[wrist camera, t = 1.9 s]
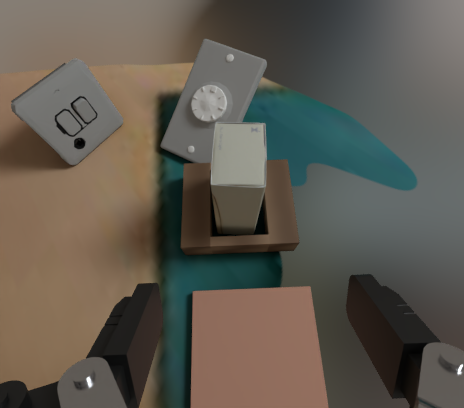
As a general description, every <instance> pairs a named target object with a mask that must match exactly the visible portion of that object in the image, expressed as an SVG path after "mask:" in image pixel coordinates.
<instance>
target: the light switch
mask: <svg viewBox="0 0 464 408" xmlns="http://www.w3.org/2000/svg"><path fill="white" fill-rule="evenodd" d="M266 66H267V63H266V60H265V59H262V58H259V57H256V56H253V55H250V54H248V53H245V52H242V51H239V50H236V49H233V48H231V47H228V46H225V45H222V44H219V43H216V42H213V41H211V40H208V39H204V41H203V43H202V45H201V48H200V50H199V53H198V55H197V57H196V60H195V62H194V65H193V67H192V70H191V72H190V74H189V77H188V79H187V82H186V84H185V87H184V89H183V92H182V94H181V96H180V99H179V101H178V104H177V106H176V109H175V111H174V113H173V116H172V118H171V121H170V123H169V126H168V128H167V130H166V133H165V135H164V138H163V140H162V143H161V148H163V149H165V150H167V151H169V152H171V153H174V154H176V155H178V156H180V157H182V158H184V159H186V160H189V161H191V162H193V163H211V162H212V148H213V138H214V130H215V124H216V122H242V121H243V118H244V116H245V114H246V111H247V109H248V107H249V105H250V102H251V100H252V98H253V96H254V93H255V91H256V89H257V87H258V84H259V82H260V80H261V78H262V75H263V73H264V71H265V68H266ZM197 118H198V119H197Z"/></svg>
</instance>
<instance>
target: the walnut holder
mask: <svg viewBox="0 0 464 408" xmlns="http://www.w3.org/2000/svg"><path fill="white" fill-rule="evenodd" d="M262 205H263V215H264V226H265V235H244V236H220V237H213V233H212V191H211V163H189V164H184V177H183V203H182V228H181V249H182V250H183V252H184V253H185V255H201V254H225V253H249V252H273V251H294V250H295V248H296V247H297V245H298V244H299V237H298V230H297V222H296V216H295V209H294V202H293V195H292V188H291V181H290V174H289V167H288V160H266V188H265V192H264V196H263V200H262Z"/></svg>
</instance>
